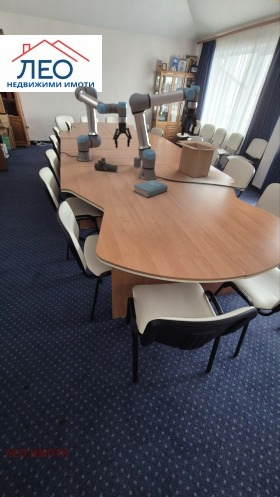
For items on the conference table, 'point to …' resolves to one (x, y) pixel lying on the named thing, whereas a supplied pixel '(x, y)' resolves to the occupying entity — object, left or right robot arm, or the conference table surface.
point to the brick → (137, 162)
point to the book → (150, 188)
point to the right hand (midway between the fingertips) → (187, 135)
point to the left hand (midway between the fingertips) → (122, 147)
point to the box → (196, 158)
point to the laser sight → (105, 166)
